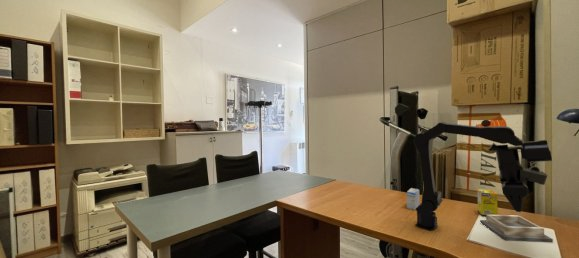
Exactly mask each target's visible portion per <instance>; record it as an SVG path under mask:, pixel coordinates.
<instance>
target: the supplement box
mask: <svg viewBox="0 0 579 258" xmlns="http://www.w3.org/2000/svg"><path fill="white" fill-rule="evenodd" d="M498 211H499V209H498V193H497V192H495V191H494V190H493V189H482V188H481V189H477V212H478V213H479V215H480V216H481V217H486V215H499V214H498Z"/></svg>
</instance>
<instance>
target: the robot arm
mask: <svg viewBox="0 0 579 258" xmlns="http://www.w3.org/2000/svg"><path fill="white" fill-rule="evenodd" d="M443 133H444V134H451V135H452V134H454V135H461V136H466V137H467V136H468V137H469V136H470V137H476V138H481V139H484V140H488V141H491V142H493V143H492V145H490V146H489V147H488V152H495V154H496V159H497V165H498V171H499V174H498V175H499V180H500V183H501V192H502V194H503V196H504V197H505V198H506V199H507V201H508V202H509V204H510V205H511V207H512V208H513V209H514V210H515V212H516V213H521V212H522V205H523V199H524V198H525V197H527V196H529V195H530V191H529V187H528V185H527V184H525V183H527V182H526V181H529V182H531V183H535V184H536V183H537V184H538V185H542V186H544V185H546V182H547V178H548V174H547V173H546V172H544V171H540V168H539V167H538V166H535V165H532V166H530V167H529V168H528V167H527V168H525V167H523V166H522V164H521V159H522V160H524V161H525V160H526V161H527V163H531V162H533V163H537V162H538V163H539V162H540V163H541V162H553V158H552V152H551V150H550V147H549V144H548V140H546V139H541V140H536V141H535V140H534V141H532V140H531V141H523V140H522V139H521V138H519V137H518V136H516V135H515V131H514V129H513V128H511V127H509V126H507V125H506V126H502V125H501V126H499V125H498V126H473V125H466V124H457V123H447V122H444V121H443V122H438V123H437V124H436V125H434V126H433V127H431V128H430V129H428V130H426V131H424V132H419V133H417V134H416V135H415V136H414V138H413V143H414V145H415V149H416V151H417V153H418V155H419V161H420V170H421V178H422V184H423V185H422V186H423V191H422V194H421V202H420V204H419V206H418V207H417V208H416V210H415V211H416V223H415V224H414V225H415V227H419V228H422V229H424V230H428V231H434V230H435V229H436V228H438V226H439V225H438V217H437V215H436V212H435V211H437V210H438V208H440V206H441V204H442V202H443V198H442V191H438V190H437V187H436V184H435V183H436V182H435V175H434V168H433V167H434V166H433V160H432V159H433V158H432V151H433V145H434V139H436V138H438V137H439V136H441V135H443ZM496 143H498V144H496ZM509 145H512V146H509ZM519 151H520V154H521V155H520V154H519ZM519 155H520V156H521V159H520V156H519Z"/></svg>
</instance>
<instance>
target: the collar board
mask: <svg viewBox="0 0 579 258" xmlns="http://www.w3.org/2000/svg"><path fill="white" fill-rule="evenodd" d="M480 222H481V223H482V225H483V226H484V225H485V226H486V227H485V226H484V227H485V228H487V229H488V228H489V229H488V230H490V231H491V232H492V233H494V234H495V235H496V236H498V237H499V238H501V239H502V240H503V241H515V242H536V243H537V242H538V243H539V242H541V243H553V242H554V239H553V238H552V237H550V236H548V235H546V234H545V228H543V227H542V226H540V225H539V224H536V223H534V222H533V221H530V220H529V219H526V218H525V217H523V216H521V215H516V214H515V215H514V214H513V215H512V214H511V215H509V214H498V215H486V216H485V219H480V220H479V223H480ZM481 223H480V224H481Z"/></svg>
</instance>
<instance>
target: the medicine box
mask: <svg viewBox="0 0 579 258" xmlns="http://www.w3.org/2000/svg"><path fill="white" fill-rule="evenodd" d="M420 201H421V199H420V189H418V188H413V187H411V188H409V189H408V190H407V192H406V209H408V210H412V209H413V210H412V211H416V208H417V207H418V206H419V205H420V204H421V202H420Z"/></svg>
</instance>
